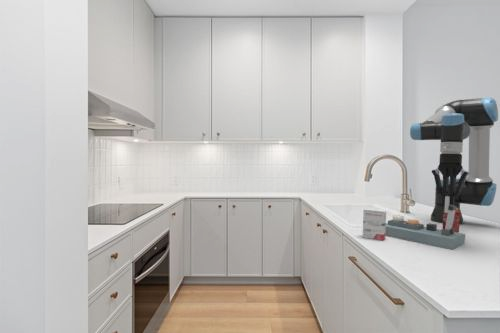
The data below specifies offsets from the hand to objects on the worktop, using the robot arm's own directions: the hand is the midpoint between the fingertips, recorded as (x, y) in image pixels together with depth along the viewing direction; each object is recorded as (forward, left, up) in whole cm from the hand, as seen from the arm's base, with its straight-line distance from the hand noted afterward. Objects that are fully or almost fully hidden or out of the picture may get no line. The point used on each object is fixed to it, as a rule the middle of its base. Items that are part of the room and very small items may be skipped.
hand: (447, 212), depth 131 cm
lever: (0, 0, -8) cm, 8 cm away
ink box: (+15, -23, -13) cm, 30 cm away
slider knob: (-3, -7, -9) cm, 11 cm away
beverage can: (-19, -5, -13) cm, 24 cm away
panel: (0, -10, -13) cm, 16 cm away
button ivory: (0, -20, -7) cm, 21 cm away
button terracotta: (0, -13, -8) cm, 15 cm away
